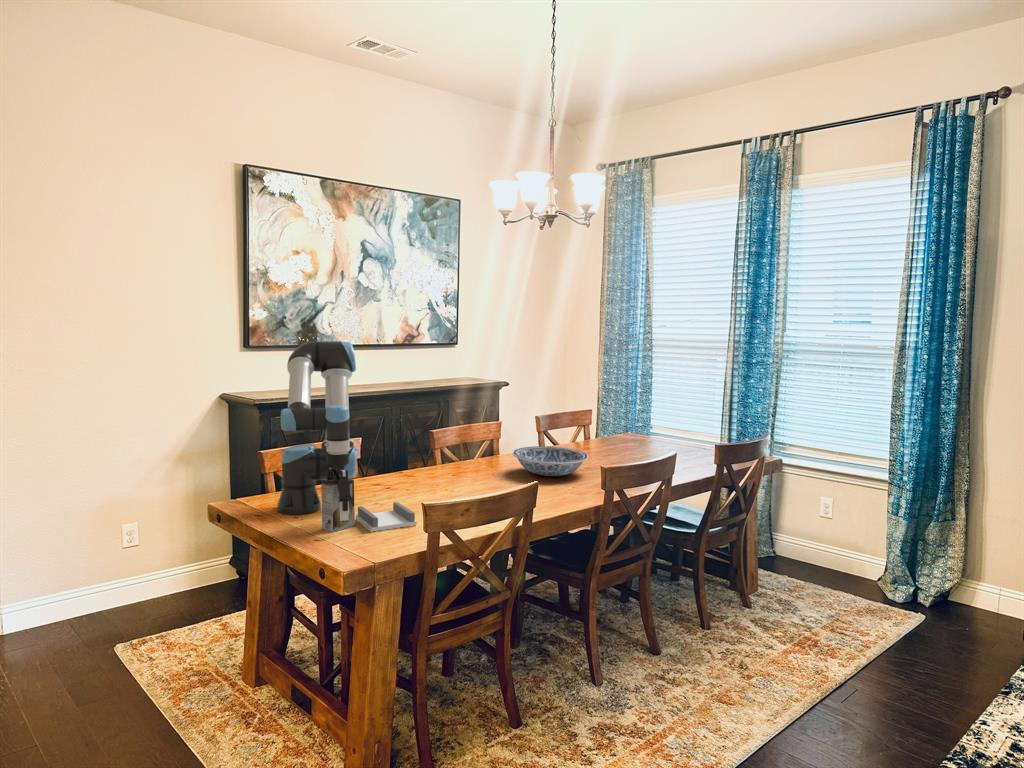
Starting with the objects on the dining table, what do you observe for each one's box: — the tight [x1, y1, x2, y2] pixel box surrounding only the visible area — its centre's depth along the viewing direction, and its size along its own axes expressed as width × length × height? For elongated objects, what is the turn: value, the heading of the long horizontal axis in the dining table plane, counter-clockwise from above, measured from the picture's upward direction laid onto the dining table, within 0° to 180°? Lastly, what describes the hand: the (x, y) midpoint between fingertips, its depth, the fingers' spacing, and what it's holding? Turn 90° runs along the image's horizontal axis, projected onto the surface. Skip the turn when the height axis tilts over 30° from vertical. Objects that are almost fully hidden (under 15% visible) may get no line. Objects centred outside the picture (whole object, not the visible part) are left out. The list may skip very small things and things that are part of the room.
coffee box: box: [320, 478, 356, 533], centre depth 236 cm, size 9×6×16 cm
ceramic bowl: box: [512, 445, 589, 477], centre depth 321 cm, size 34×34×10 cm
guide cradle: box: [355, 501, 417, 533], centre depth 243 cm, size 16×16×4 cm
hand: (338, 515), depth 236 cm, fingers open, 13 cm apart
